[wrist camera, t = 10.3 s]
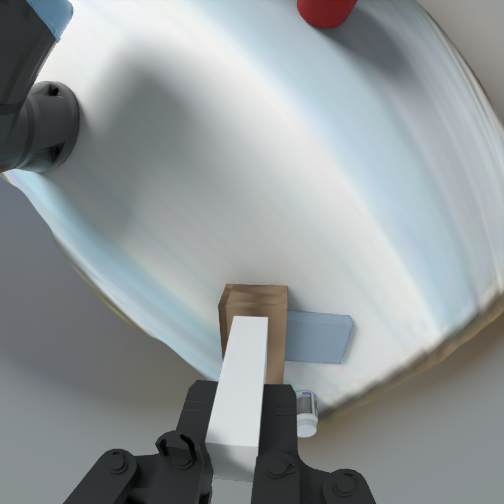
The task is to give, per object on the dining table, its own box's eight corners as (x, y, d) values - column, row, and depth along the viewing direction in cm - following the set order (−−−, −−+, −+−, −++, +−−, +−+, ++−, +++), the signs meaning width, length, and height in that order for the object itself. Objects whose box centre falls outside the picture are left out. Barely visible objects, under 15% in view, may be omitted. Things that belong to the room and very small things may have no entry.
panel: (250, 344, 51) (248, 356, 48) (254, 304, 48) (252, 315, 45) (338, 352, 50) (340, 364, 47) (349, 313, 47) (352, 324, 44)
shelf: (231, 359, 52) (225, 384, 46) (226, 284, 46) (218, 306, 40) (283, 362, 51) (282, 387, 45) (287, 286, 45) (287, 308, 39)
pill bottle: (286, 399, 55) (285, 433, 47) (301, 386, 53) (302, 421, 45) (306, 407, 55) (307, 441, 47) (321, 395, 53) (324, 429, 46)
